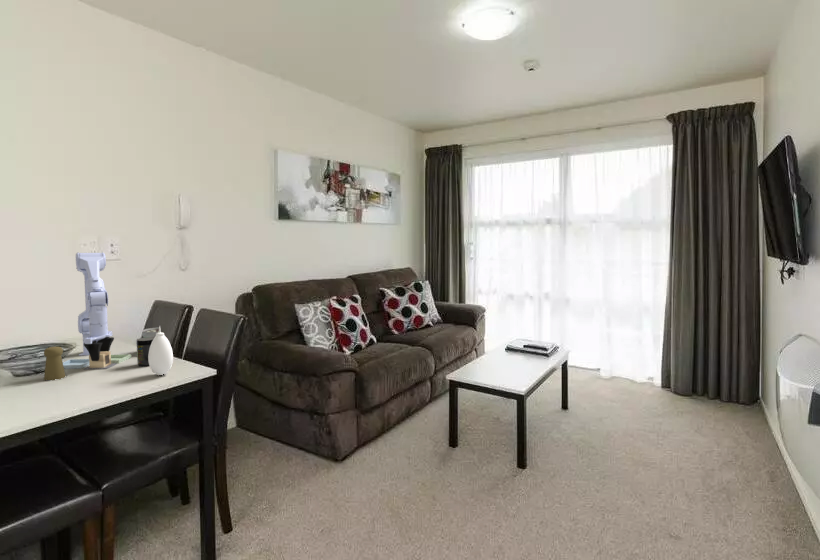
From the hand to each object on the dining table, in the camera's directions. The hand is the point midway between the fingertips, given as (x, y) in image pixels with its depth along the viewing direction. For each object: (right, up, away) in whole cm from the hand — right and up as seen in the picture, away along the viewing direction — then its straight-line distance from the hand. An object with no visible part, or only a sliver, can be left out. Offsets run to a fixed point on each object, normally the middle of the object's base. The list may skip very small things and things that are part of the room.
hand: (100, 358), depth 171 cm
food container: (+5, -2, +24) cm, 25 cm away
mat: (0, -3, 0) cm, 3 cm away
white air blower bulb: (+28, -5, -9) cm, 30 cm away
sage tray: (-2, -3, +10) cm, 10 cm away
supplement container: (+16, -4, +4) cm, 17 cm away
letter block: (0, -3, 0) cm, 3 cm away
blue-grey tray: (-11, -3, +2) cm, 11 cm away
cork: (-7, -5, -13) cm, 16 cm away
